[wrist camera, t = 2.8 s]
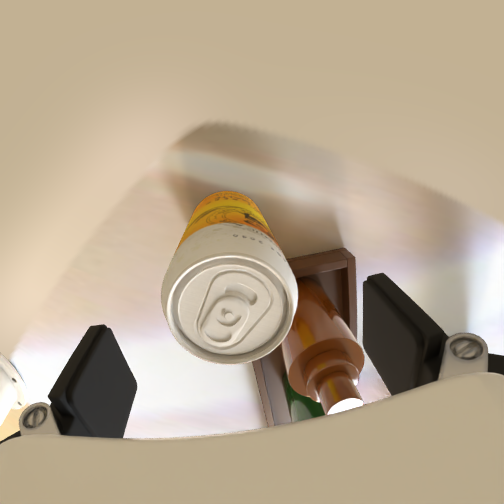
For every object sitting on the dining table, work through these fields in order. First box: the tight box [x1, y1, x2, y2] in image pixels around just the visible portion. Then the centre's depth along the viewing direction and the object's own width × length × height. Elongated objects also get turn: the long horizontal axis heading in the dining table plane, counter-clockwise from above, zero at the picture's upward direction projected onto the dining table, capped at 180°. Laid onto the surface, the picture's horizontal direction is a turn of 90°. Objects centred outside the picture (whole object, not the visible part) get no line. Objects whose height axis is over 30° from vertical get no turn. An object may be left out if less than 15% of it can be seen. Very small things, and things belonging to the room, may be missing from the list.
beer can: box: [161, 191, 298, 365], centre depth 19 cm, size 6×6×15 cm
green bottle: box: [282, 371, 325, 423], centre depth 26 cm, size 6×6×14 cm
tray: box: [252, 248, 357, 427], centre depth 32 cm, size 11×30×3 cm, turn 10°
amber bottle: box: [279, 276, 364, 415], centre depth 22 cm, size 6×6×14 cm
